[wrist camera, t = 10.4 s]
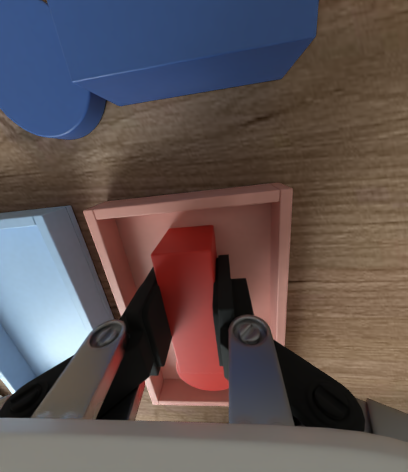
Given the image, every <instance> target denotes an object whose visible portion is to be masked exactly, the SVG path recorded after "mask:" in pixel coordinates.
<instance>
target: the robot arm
mask: <svg viewBox="0 0 408 472" xmlns="http://www.w3.org/2000/svg"><path fill="white" fill-rule="evenodd" d="M212 309H213V320H214V328H215V335H216V343H217V350H218V358H219V365H220V366H223V370H224V377H225V378H226V379H227V380H228V381H229V423H201V422H169V421H135V418H136V415H137V411H138V408H139V405H140V401H141V398H142V394H143V391H144V387H145V380H146V379H147V378H149V376H158V375H159V372H160V368H161V367H164V365H165V363H166V359H167V355H168V351H169V347H170V343H171V340H172V335H171V331H170V327H169V323H168V319H167V315H166V311H165V307H164V303H163V299H162V295H161V291H160V287H159V286H158V283H157V279H156V275H155V271H154V267H152V269H151V271H150V272H149V274H148V275H147V277H146V279H145V280H144V282H143V284H141V286H140V287H139V288H138V290H137V292H136V293H135V295H134V297H133V298H132V300H131V301H130V303H129V305H128V306H127V308H126V310H125V311H124V313H123V314H122V316H121V318H120V319H119V320H116V319H114V320H109V321H106V322H104V323H102V324H100V325H98V326H97V327H96V328H95V329H93V330H92V331H91V332H90V334H89V335H88V336H87V337H86V339H85V340H84V342H83V343H82V345H81V346H80V347H79V349H78V350H77V352H76V353H75V355H73V356H71V357H70V358H68V359H66V360H65V361H63V362H61V363H60V364H58V365H56V366H55V367H53V368H51V369H49V370H48V371H46V372H44V373H43V374H41V375H39V376H38V377H36V378H34V379H33V380H31V381H29V382H28V383H26V384H25V385H23V386H22V387H21V388H19V389H18V390H17V391H16V392H15V393H14V394H12V395H11V396H10V394H9V395H6V396H4V397H1V398H0V472H408V414H407V413H404V412H402V411H399V410H396V409H394V408H391V407H389V406H386V405H383V404H381V403H378V402H376V401H373V400H370V399H368V398H367V400H366V402H365V401H362V400H360V399H357V398H355V397H354V396H353V395H352V394H351V392H350V391H349V390H348V389H346V388H345V387H344V386H343V385H342V384H340V383H339V382H337V381H336V380H334V379H333V378H331V377H330V376H328V375H327V374H325V373H324V372H322V371H321V370H319V369H318V368H316V367H315V366H313V365H312V364H310V363H309V362H307V361H306V360H304V359H303V358H301V357H299V356H298V355H296V354H295V353H293V352H292V351H290V350H289V349H287V348H286V347H284V346H283V345H281V344H280V343H278V342H277V341H275V340H274V339H273V337H272V333H271V329H270V327H269V325H268V324H267V323H266V322H265V321H264V320H263V319H261V318H260V317H257V316H254V312H253V308H252V303H251V298H250V294H249V289H248V285H247V280H246V278H236V279H231V275H230V264H229V254H228V255H218V258H216V272H215V282H214V283H213V303H212Z"/></svg>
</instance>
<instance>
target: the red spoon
mask: <svg viewBox="0 0 408 472" xmlns="http://www.w3.org/2000/svg"><path fill="white" fill-rule="evenodd" d="M216 258H217V252H216V243H215V234H214V226H213V225H204V226H193V227H182V228H170V229H168V231H167V232H166V234H165V235H164V236H163V238H162V239H161V241H160V242H159V243H158V245H157V246H156V248H155V249H154V251H153V252H152V253H151V259H152V263H153V267H154V271H155V275H156V279H157V283H158V286H159V287H160V291H161V295H162V299H163V303H164V307H165V311H166V315H167V319H168V323H169V327H170V331H171V335H172V343H173V347H174V351H175V355H176V359H177V361H176V370H177V373H178V375H179V376H180V377H181V379H182V380H183V381H185V382H186V383H187V384H189V385H191V386H193V387H195V388H198V389H201V390H207V391H219V390H225V389H228V388H229V381H228V380H227V379H226V378H225V377H224V370H223V366H220V365H219V358H218V350H217V343H216V335H215V328H214V320H213V309H212V303H213V283H214V282H215V272H216Z"/></svg>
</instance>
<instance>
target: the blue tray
mask: <svg viewBox="0 0 408 472" xmlns="http://www.w3.org/2000/svg"><path fill="white" fill-rule="evenodd" d="M109 320H114V317H113V314H112V312H111V309H110V306H109V304H108V301H107V299H106V296H105V293H104V291H103V288H102V285H101V283H100V280H99V278H98V275H97V272H96V270H95V267H94V265H93V262H92V259H91V257H90V254H89V251H88V249H87V246H86V244H85V241H84V238H83V236H82V233H81V231H80V228H79V225H78V223H77V220H76V217H75V215H74V212H73V210H72V207H71V206H70V205H69V206H60V207H51V208H41V209H32V210H23V211H14V212H5V213H0V379H1V380H2V381H3V383H4V384H5V385H6V386H7V388H8V389H9V390H10V391H11V393H12V394H14V393H15V392H16V391H17V390H18V389H19V388H21V387H22V386H23V385H25V384H26V383H28V382H29V381H31V380H33V379H34V378H36V377H38V376H39V375H41V374H43V373H44V372H46V371H48V370H49V369H51V368H53V367H55V366H56V365H58V364H60V363H61V362H63V361H65V360H66V359H68V358H70V357H71V356H73V355H75V353H76V352H77V350H78V349H79V347H80V346H81V345H82V343H83V342H84V340H85V339H86V337H87V336H88V335H89V334H90V332H91V331H92V330H93V329H95V328H96V327H97V326H98V325H100V324H102V323H104V322H106V321H109Z"/></svg>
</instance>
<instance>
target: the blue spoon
mask: <svg viewBox="0 0 408 472" xmlns="http://www.w3.org/2000/svg"><path fill="white" fill-rule="evenodd" d="M47 2H48V4H47V3H46V2H44V1H42V0H0V109H1V110H2V111H3V112H4V113H5V114H6V115H7V116H8V117H9V118H10V119H11V120H12V121H13V122H15V123H16V124H17V125H19V126H20V127H22V128H23V129H25V130H27V131H28V132H30V133H33V134H35V135H38V136H42V137H48V138H57V139H66V140H72V139H78V138H81V137H84V136H86V135H87V134H89V133H90V132H91V131H92V130H93V129H95V127H96V126H97V125H98V123H99V121H100V120H101V118H102V115H103V112H104V108H105V102H106V100H108V101H110V102H112V103H114V104H116V105H118V106H124V105H130V104H136V103H142V102H148V101H154V100H160V99H166V98H171V97H177V96H183V95H189V94H195V93H201V92H207V91H213V90H219V89H225V88H231V87H237V86H243V85H249V84H255V83H260V82H266V81H272V80H278V79H282V78H283V77H284V75H285V74H286V73H287V72H288V70H289V69H290V68H291V67H292V65H293V64H294V63H295V62H296V60H297V59H298V58H299V57H300V56H301V54H302V53H303V52H304V51H305V49H306V48H307V47H308V46H309V44H310V43H311V42H312V41H313V39H314V38H315V36H316V30H317V16H318V3H319V0H47Z"/></svg>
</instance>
